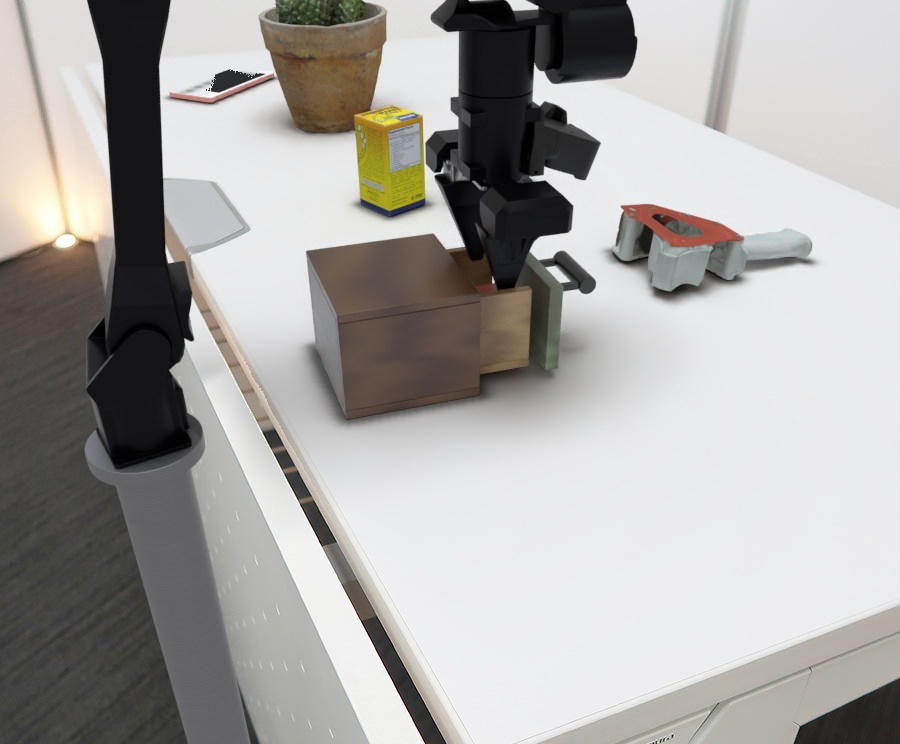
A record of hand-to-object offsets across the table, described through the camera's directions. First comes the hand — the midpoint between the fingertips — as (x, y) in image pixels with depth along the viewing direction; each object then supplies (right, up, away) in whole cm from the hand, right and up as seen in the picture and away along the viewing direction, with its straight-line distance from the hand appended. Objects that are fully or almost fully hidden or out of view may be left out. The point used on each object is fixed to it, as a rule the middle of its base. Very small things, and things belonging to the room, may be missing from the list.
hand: (490, 276), depth 80 cm
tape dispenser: (+23, +4, +19) cm, 30 cm away
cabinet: (-8, -8, +2) cm, 12 cm away
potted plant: (-22, +35, +62) cm, 75 cm away
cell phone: (-42, +47, +79) cm, 101 cm away
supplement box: (-11, +15, +34) cm, 39 cm away
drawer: (+1, -5, +4) cm, 7 cm away
